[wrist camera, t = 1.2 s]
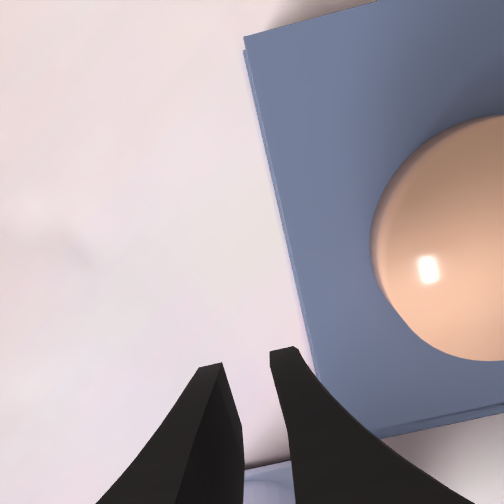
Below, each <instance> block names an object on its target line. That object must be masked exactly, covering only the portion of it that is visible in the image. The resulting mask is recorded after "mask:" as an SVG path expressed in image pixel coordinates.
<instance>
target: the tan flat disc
mask: <svg viewBox="0 0 504 504" xmlns="http://www.w3.org/2000/svg"><path fill="white" fill-rule="evenodd" d="M369 250H370V261H371V265H372V270H373V274H374V276H375V279H376V282H377V284H378V286H379V288H380V290H381V292H382V293H383V295H384V297H385V298H386V299H387V300H388V302H389V303H390V304H391V305H392V307H393V308H394V309H395V310H396V312H397V313H398V314H399V315H400V316H401V318H402V319H403V320H404V321H405V322H406V324H407V325H408V326H409V327H410V328H411V330H412V331H413V332H414V333H416V334H417V335H418V336H419V337H420V338H421V339H422V340H424V341H425V342H427V343H428V344H430V345H431V346H433V347H434V348H436V349H438V350H440V351H443V352H445V353H447V354H450V355H453V356H456V357H459V358H465V359H470V360H479V361H500V360H504V115H490V116H484V117H479V118H474V119H471V120H468V121H465V122H461V123H458V124H456V125H454V126H452V127H450V128H448V129H445V130H443V131H442V132H440V133H438V134H437V135H435V136H434V137H432V138H430V139H429V140H427V141H426V142H425V143H424V144H422V145H421V146H420V147H419V148H417V149H416V150H415V151H414V152H413V153H412V154H411V155H410V156H409V157H408V158H407V159H406V160H405V161H404V162H403V163H402V164H401V165H400V167H399V168H398V169H397V170H396V172H395V173H394V174H393V176H392V177H391V179H390V180H389V182H388V184H387V185H386V187H385V189H384V190H383V193H382V195H381V197H380V199H379V201H378V203H377V206H376V209H375V213H374V216H373V219H372V225H371V230H370V242H369Z"/></svg>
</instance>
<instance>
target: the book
mask: <svg viewBox="0 0 504 504" xmlns="http://www.w3.org/2000/svg"><path fill="white" fill-rule="evenodd" d="M244 44H245V48H246V50H243V54H244V58H245V63H246V67H247V71H248V76H249V80H250V85H251V89H252V93H253V98H254V102H255V107H256V111H257V115H258V120H259V124H260V129H261V133H262V138H263V142H264V146H265V151H266V155H267V160H268V164H269V168H270V173H271V177H272V182H273V186H274V190H275V195H276V199H277V204H278V208H279V212H280V217H281V221H282V226H283V230H284V234H285V239H286V243H287V248H288V252H289V257H290V261H291V265H292V270H293V274H294V279H295V283H296V287H297V292H298V296H299V301H300V305H301V309H302V314H303V318H304V323H305V327H306V331H307V336H308V340H309V345H310V349H311V354H312V358H313V362H314V367H315V371H316V376H317V379H318V380H319V381H320V382H321V383H322V385H323V386H324V387H325V388H326V389H327V390H328V391H329V393H330V394H331V395H332V396H333V397H334V398H335V399H336V400H337V401H338V402H339V403H340V404H341V405H342V406H343V407H344V408H345V409H346V410H347V411H348V412H349V413H350V414H351V415H352V416H353V417H354V418H355V419H356V420H357V421H359V422H360V423H361V424H362V425H363V426H364V427H365V428H366V429H368V430H369V431H370V432H371V433H372V434H374V435H375V436H376V437H377V438H378V439H383V438H388V437H392V436H397V435H402V434H406V433H411V432H416V431H420V430H425V429H430V428H435V427H439V426H444V425H449V424H453V423H458V422H463V421H467V420H472V419H477V418H481V417H486V416H491V415H495V414H500V413H504V360H500V361H479V360H470V359H465V358H459V357H456V356H453V355H450V354H447V353H445V352H443V351H440V350H438V349H436V348H434V347H433V346H431V345H430V344H428V343H427V342H425V341H424V340H422V339H421V338H420V337H419V336H418V335H417V334H416V333H414V332H413V331H412V330H411V328H410V327H409V326H408V325H407V324H406V322H405V321H404V320H403V319H402V318H401V316H400V315H399V314H398V313H397V312H396V310H395V309H394V308H393V307H392V305H391V304H390V303H389V302H388V300H387V299H386V298H385V297H384V295H383V293H382V292H381V290H380V288H379V286H378V284H377V282H376V279H375V276H374V274H373V270H372V265H371V261H370V250H369V242H370V230H371V225H372V219H373V216H374V213H375V209H376V206H377V203H378V201H379V199H380V197H381V195H382V193H383V190H384V189H385V187H386V185H387V184H388V182H389V180H390V179H391V177H392V176H393V174H394V173H395V172H396V170H397V169H398V168H399V167H400V165H401V164H402V163H403V162H404V161H405V160H406V159H407V158H408V157H409V156H410V155H411V154H412V153H413V152H414V151H415V150H416V149H417V148H419V147H420V146H421V145H422V144H424V143H425V142H426V141H427V140H429V139H430V138H432V137H434V136H435V135H437V134H438V133H440V132H442V131H443V130H445V129H448V128H450V127H452V126H454V125H456V124H458V123H461V122H465V121H468V120H471V119H474V118H479V117H484V116H490V115H504V0H379V1H375V2H372V3H368V4H364V5H361V6H357V7H353V8H349V9H346V10H342V11H338V12H334V13H331V14H327V15H323V16H320V17H316V18H312V19H308V20H305V21H301V22H297V23H293V24H290V25H286V26H282V27H279V28H275V29H271V30H267V31H264V32H260V33H256V34H253V35H249V36H245V37H244Z"/></svg>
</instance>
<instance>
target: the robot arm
mask: <svg viewBox="0 0 504 504" xmlns="http://www.w3.org/2000/svg"><path fill="white" fill-rule="evenodd" d="M270 368H271V372H272V375H273V379H274V383H275V387H276V390H277V394H278V398H279V402H280V405H281V409H282V413H283V416H284V420H285V424H286V428H287V432H288V440H289V448H290V457H291V461H286V462H281V463H277V464H272V465H267V466H263V467H258V468H253V469H249V470H245V462H244V447H243V434H242V425H241V422H240V418H239V415H238V412H237V409H236V406H235V402H234V399H233V396H232V393H231V390H230V386H229V383H228V380H227V377H226V374H225V370H224V367H223V364H222V362H221V363H217V364H213V365H208V366H204V367H199V368H198V370H197V371H196V373H195V374H194V376H193V377H192V379H191V380H190V382H189V383H188V385H187V386H186V388H185V389H184V391H183V392H182V394H181V396H180V397H179V399H178V400H177V402H176V403H175V405H174V406H173V408H172V409H171V411H170V412H169V413H168V415H167V416H166V418H165V419H164V421H163V422H162V424H161V425H160V427H159V428H158V429H157V431H156V432H155V433H154V434H153V436H152V437H151V438H150V440H149V441H148V442H147V444H146V445H145V446H144V448H143V449H142V450H141V452H140V453H139V454H138V456H137V457H136V458H135V459H134V461H133V462H132V463H131V464H130V466H129V467H128V468H127V469H126V470H125V471H124V473H123V474H122V475H121V476H120V477H119V479H118V480H117V481H116V482H115V483H114V484H113V485H112V486H111V487H110V489H109V490H108V491H107V492H106V493H105V494H104V495H103V496H102V497H101V498H100V500H99V501H98V502H97V503H96V504H475V503H473V502H471V501H469V500H468V499H466V498H464V497H463V496H461V495H459V494H458V493H456V492H454V491H452V490H451V489H449V488H448V487H446V486H445V485H443V484H442V483H440V482H439V481H437V480H436V479H434V478H433V477H431V476H430V475H428V474H427V473H425V472H424V471H422V470H421V469H419V468H418V467H416V466H415V465H413V464H412V463H410V462H409V461H407V460H406V459H404V458H403V457H402V456H400V455H399V454H398V453H396V452H395V451H394V450H392V449H391V448H390V447H389V446H387V445H386V444H385V443H383V442H382V441H381V440H380V439H378V438H377V437H376V436H375V435H374V434H372V433H371V432H370V431H369V430H368V429H366V428H365V427H364V426H363V425H362V424H361V423H360V422H359V421H357V420H356V419H355V418H354V417H353V416H352V415H351V414H350V413H349V412H348V411H347V410H346V409H345V408H344V407H343V406H342V405H341V404H340V403H339V402H338V401H337V400H336V399H335V398H334V397H333V396H332V395H331V394H330V393H329V391H328V390H327V389H326V388H325V387H324V386H323V385H322V383H321V382H320V381H319V380H318V379H317V377H316V376H315V375H314V374H313V372H312V371H311V370H310V368H309V367H308V366H307V364H306V363H305V361H304V359H303V358H302V356H301V354H300V352H299V349H297V348H295V347H294V346H292V347H287V348H283V349H278V350H274V351H270Z"/></svg>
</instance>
